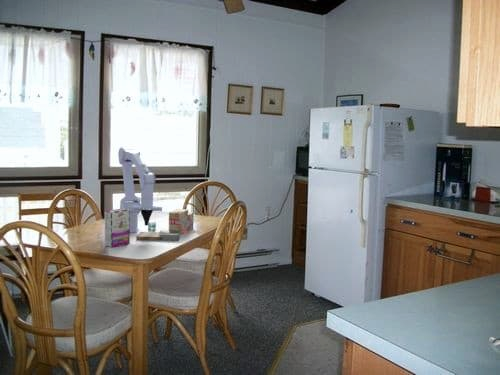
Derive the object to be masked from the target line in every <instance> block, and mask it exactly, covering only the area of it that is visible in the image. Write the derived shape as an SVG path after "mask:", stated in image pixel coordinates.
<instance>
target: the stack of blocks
mask: <svg viewBox="0 0 500 375" xmlns="http://www.w3.org/2000/svg"><path fill="white" fill-rule="evenodd" d="M194 221H195V218H194V212H190V211H189V209H186V208H185V209H184V208H177V209H174V210H172V211H169V212H168V231H180V237H182V236H183V235H185V234H187V233H188V232H190V231H192V230H193V229H194Z"/></svg>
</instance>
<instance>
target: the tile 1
mask: <svg viewBox="0 0 500 375" xmlns="http://www.w3.org/2000/svg"><path fill="white" fill-rule="evenodd" d="M169 233H170V231H169V230H165V229H163V228H161V229H160V230H159V235H161V236H162V235H169Z"/></svg>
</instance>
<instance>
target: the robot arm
mask: <svg viewBox="0 0 500 375" xmlns="http://www.w3.org/2000/svg"><path fill="white" fill-rule="evenodd" d="M140 151H141V150H140V148H138V147H123V146H121V147H120V148H119V149H118V154H117V155H118V163H119V165H121V168H122V178H123V188H124V197H122V198H121V199H120V201H119V209H122V208H125V209H130V233H138V231H140V228H139V226H138V222H139V221H138V217H139V216H138V215H140V214H141V216H142V218H143V221H144V226H149V222H150V220H151V219H150V218H151V216H152V214H153V212H163V206H157V205H156V206H155V205H154V185H155V184H156V179H157V178H156V175H155V173H154V172H151V171H150V170H149V168H148V167H147V164H145V163H143V160H141V159H142V158H141V152H140ZM133 166H134V168H135V172H136V174H137V175H138V178H139V180H138V181H139V185H140V186H139V188H140V189H141V191H140V192H141V194H140V198H141V199H140V198H139V197H138V196H136V195H135V184H134V175H133Z"/></svg>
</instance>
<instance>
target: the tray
mask: <svg viewBox="0 0 500 375" xmlns="http://www.w3.org/2000/svg"><path fill="white" fill-rule="evenodd" d="M170 233H178V235H162V240H161V242H179V240H180V238H181V236H180V231H170Z"/></svg>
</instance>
